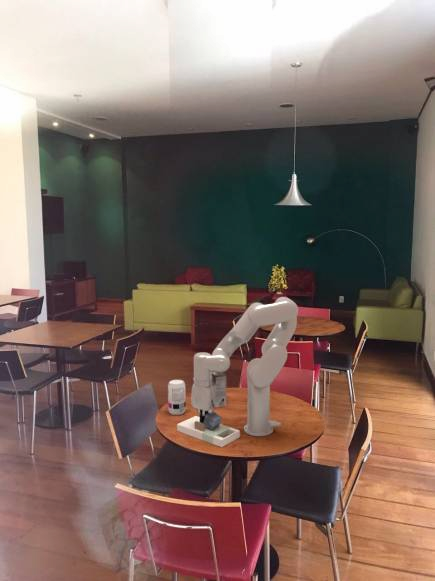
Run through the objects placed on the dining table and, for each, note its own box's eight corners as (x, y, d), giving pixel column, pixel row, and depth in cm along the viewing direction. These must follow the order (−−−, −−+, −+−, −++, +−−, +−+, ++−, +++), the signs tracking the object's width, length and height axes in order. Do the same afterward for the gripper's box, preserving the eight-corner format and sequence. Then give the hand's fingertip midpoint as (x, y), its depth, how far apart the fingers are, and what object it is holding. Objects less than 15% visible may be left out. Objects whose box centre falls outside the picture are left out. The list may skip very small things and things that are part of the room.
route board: (239, 437, 197) (239, 423, 196) (221, 447, 187) (221, 433, 187) (195, 422, 212) (195, 409, 212) (177, 430, 203) (176, 417, 203)
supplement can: (165, 413, 223) (164, 383, 221) (174, 407, 230) (174, 378, 228) (179, 416, 219) (179, 385, 217) (188, 410, 226) (188, 380, 224)
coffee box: (207, 401, 238) (207, 371, 236) (219, 399, 241) (218, 369, 239) (215, 407, 230) (214, 375, 228) (226, 405, 232) (226, 374, 230)
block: (218, 427, 200) (222, 417, 198) (211, 430, 196) (214, 421, 194) (210, 420, 202) (213, 411, 201) (202, 424, 198) (205, 414, 197)
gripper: (184, 380, 201) (184, 421, 203) (210, 387, 191) (210, 430, 193) (196, 376, 206) (196, 416, 209) (222, 383, 197) (222, 425, 199)
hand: (203, 423), depth 201 cm, fingers closed
